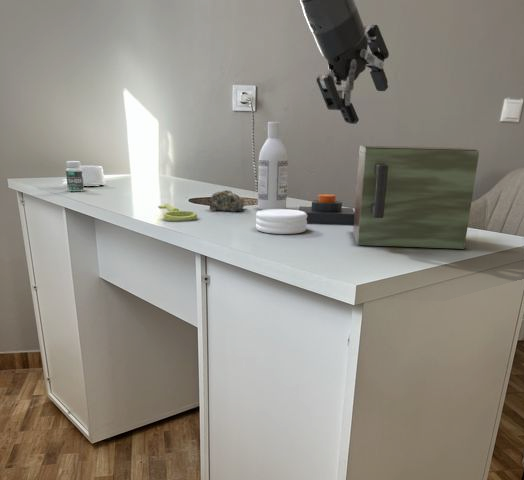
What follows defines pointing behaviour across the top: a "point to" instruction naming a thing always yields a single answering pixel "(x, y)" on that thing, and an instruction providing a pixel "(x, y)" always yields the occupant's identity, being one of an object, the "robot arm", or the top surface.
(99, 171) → the white rounded block
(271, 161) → the bath foam
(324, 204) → the switch block
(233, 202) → the rock
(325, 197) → the button
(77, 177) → the pill bottle
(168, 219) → the key
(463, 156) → the door
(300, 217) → the white flat cylinder
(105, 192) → the top surface
